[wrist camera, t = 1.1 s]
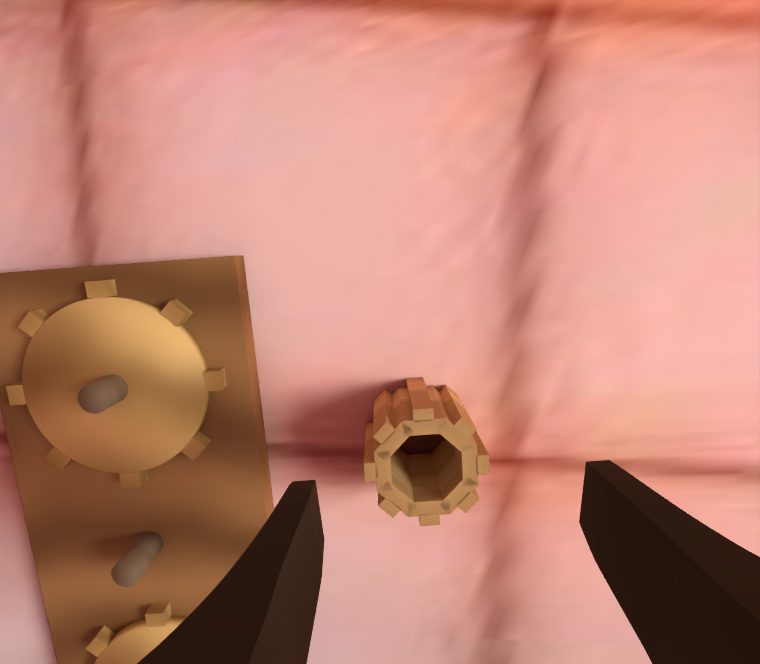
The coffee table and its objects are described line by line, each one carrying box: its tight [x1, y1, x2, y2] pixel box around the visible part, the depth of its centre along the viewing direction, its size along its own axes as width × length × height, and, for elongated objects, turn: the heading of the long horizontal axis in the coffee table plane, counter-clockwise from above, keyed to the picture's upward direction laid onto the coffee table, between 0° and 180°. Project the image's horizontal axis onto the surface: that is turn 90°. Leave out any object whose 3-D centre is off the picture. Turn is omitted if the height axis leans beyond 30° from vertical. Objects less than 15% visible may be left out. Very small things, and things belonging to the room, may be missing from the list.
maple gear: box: [364, 378, 489, 526], centre depth 23 cm, size 6×6×5 cm
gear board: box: [0, 256, 274, 664], centre depth 25 cm, size 30×13×4 cm, turn 4°
